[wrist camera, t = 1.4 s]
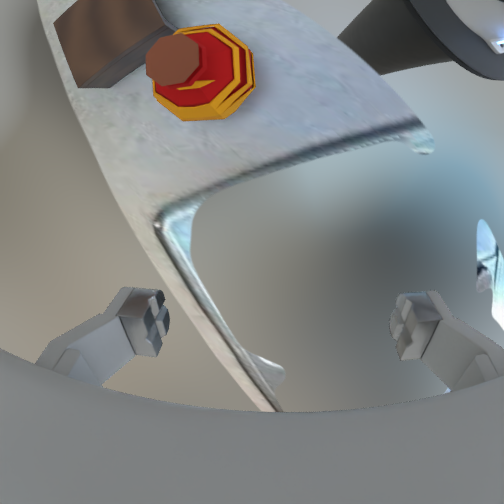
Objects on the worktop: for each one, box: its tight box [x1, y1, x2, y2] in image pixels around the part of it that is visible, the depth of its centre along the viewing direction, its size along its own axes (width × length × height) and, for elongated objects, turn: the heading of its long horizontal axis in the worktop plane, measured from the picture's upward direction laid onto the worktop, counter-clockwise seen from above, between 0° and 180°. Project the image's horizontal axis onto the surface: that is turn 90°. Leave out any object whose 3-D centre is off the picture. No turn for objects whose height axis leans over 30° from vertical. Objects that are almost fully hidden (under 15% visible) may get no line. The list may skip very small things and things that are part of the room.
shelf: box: [53, 0, 179, 88], centre depth 21 cm, size 12×12×7 cm
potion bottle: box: [146, 24, 256, 121], centre depth 21 cm, size 10×10×15 cm
